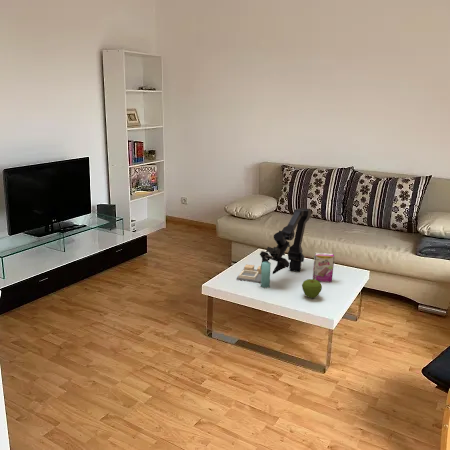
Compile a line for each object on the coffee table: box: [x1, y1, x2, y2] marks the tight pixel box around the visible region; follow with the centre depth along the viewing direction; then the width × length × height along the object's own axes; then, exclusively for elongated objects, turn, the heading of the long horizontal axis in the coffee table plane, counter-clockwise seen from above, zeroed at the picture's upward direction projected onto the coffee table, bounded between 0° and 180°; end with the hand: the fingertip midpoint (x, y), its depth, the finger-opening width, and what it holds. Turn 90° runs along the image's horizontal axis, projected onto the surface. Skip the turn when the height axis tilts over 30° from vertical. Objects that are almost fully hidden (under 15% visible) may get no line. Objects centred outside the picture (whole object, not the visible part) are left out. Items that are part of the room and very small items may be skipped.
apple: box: [301, 278, 323, 299], centre depth 262 cm, size 11×10×10 cm
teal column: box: [260, 261, 272, 289], centre depth 275 cm, size 5×5×14 cm
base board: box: [236, 264, 261, 284], centre depth 290 cm, size 16×17×4 cm
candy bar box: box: [312, 252, 335, 283], centre depth 284 cm, size 11×5×16 cm, turn 84°
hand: (266, 271), depth 275 cm, fingers open, 9 cm apart
